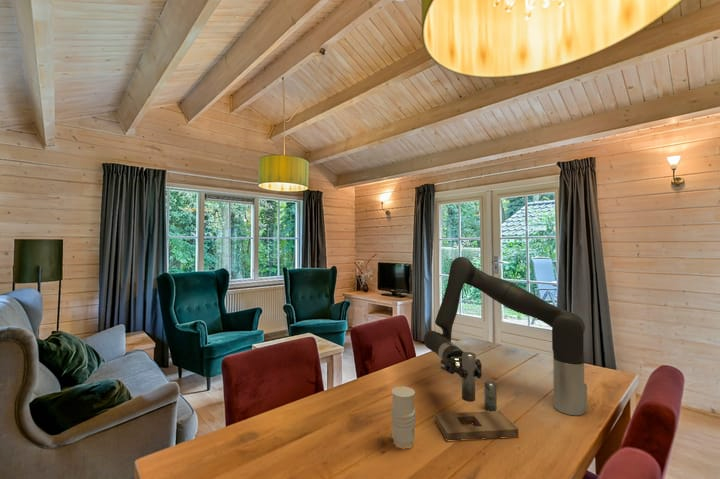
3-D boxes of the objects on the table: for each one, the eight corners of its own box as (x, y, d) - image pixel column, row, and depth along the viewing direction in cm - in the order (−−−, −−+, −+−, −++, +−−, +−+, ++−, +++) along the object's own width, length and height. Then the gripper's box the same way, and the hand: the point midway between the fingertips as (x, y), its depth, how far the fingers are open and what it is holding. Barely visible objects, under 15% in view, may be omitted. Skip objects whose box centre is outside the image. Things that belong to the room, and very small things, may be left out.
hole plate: (499, 418, 112) (499, 410, 112) (518, 437, 101) (518, 429, 101) (435, 421, 110) (435, 413, 110) (447, 441, 99) (447, 433, 99)
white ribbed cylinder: (414, 451, 94) (414, 398, 95) (390, 448, 96) (390, 395, 96) (415, 437, 101) (415, 387, 101) (392, 435, 103) (392, 385, 103)
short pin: (493, 405, 121) (493, 380, 121) (498, 411, 117) (498, 385, 117) (482, 406, 121) (482, 380, 121) (487, 411, 117) (487, 385, 117)
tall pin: (471, 395, 108) (472, 351, 108) (477, 401, 104) (477, 356, 104) (459, 395, 108) (460, 352, 107) (464, 402, 104) (465, 356, 103)
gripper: (432, 345, 119) (450, 364, 102) (471, 344, 121) (495, 362, 104) (432, 367, 119) (449, 388, 102) (471, 365, 121) (494, 387, 104)
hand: (472, 375), depth 103 cm, fingers closed on tall pin, 4 cm apart
